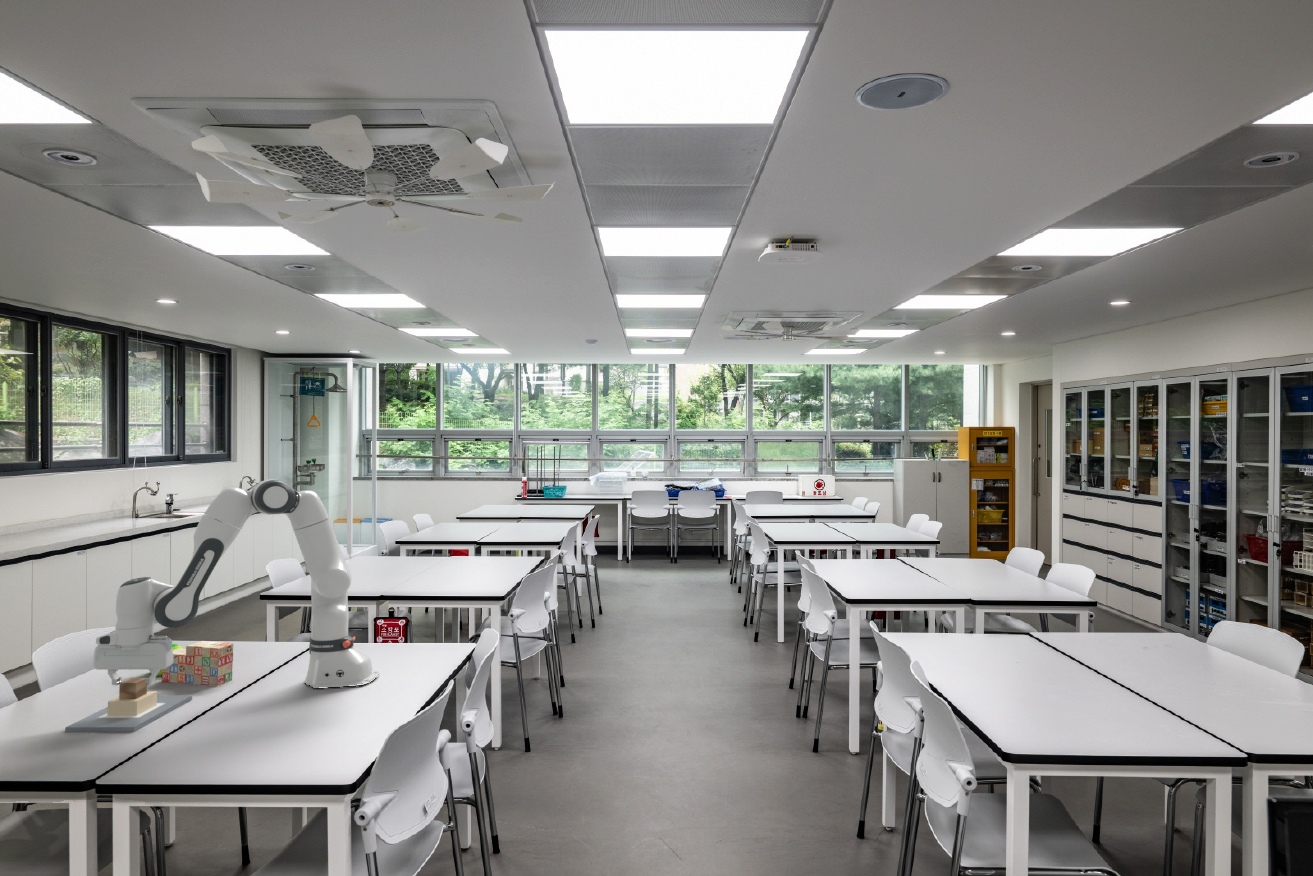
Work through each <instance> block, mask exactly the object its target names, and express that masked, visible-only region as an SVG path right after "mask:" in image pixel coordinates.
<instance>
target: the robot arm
mask: <svg viewBox="0 0 1313 876" xmlns="http://www.w3.org/2000/svg"><path fill="white" fill-rule="evenodd" d="M256 513H261V514H264V515H280V514H282V515H283V514H285V516H287V518H288V520H289V521H290V524H291V526H292V530H293V533H294V536H295V539H296V541H297V544H298V546H299V549H300V552H301V554H302V557H303V560H304V563H305V566H306V568H307V570H308V573H309V576H310V581H311V583H310V584H311V585H310V590H311V591H310V592H311V593H310V595H311V597H310V598H311V599H310V600H311V601H310V603H311V627H310V628H311V637H310V638H309V646H308V647H309V655H310V656H309V662H308V670H307V672H306V677H305V679H304V684H305V683H306V685H307V686H309V685H310V686H309V687H311V688H312V687H313V688H319V687H340V688H344V687H343V686H349V685H357V684H363V683H366V682H370V681H371V680H373V679H374V678H376V677H377V675H378V673H379V674H380V672H379V670H377V669H373V667H372V666H373V663H372V660H371V658H370V656H369V655H368V654H366V653H364V652H363V651H361V650H360V649H358V648H357V647H356V646H355V645H354V642H355V640H356V636H353V637H352V636H351V635H350V634H349V605H348V604H349V601H348V600H349V599H348V597H349V596H348V590H349V588H350V586H351V584H352V574H351V573H350V570H349V568H348V564H347V562H346V559H345V557H344V554H343V551H342V549H341V546H340V544H339V542H338V538H337V535H336V533H335V530H334V528H333V525H332V522H331V519H330V517H329V514H328V511H327V509H326V507H325V505H324V503H323V502H322V499H321V498H320V496H319V495H318V493H317V492H315V491H313V490H306V489H305V490H300V491H297V490H295V489H294V488H293V487H292V486H290V485H289V484H288V483H287V482H284V481H282V480H279V479H274V478H273V479H271V478H270V479H265V480H261V481H260V482H258V483H256V484H254V485H253V486H251V487H249V488H247V489H246V490H245V489H243V488H240V487H233V486H232V487H227V488H224V489H223V490H222V491H220V493H219V494H218V495H217V496H216V497H215V498H214V500H212V502H211V503H210V505H209V506H208V507H207V509H206V510H205V512H204V514H203V515H202V516H201V518H200V519H199V522H198V524H197V525H196V529H195V531H194V534H193V552H192V556H191V559H190V561H189V563H188V565H187V566H186V568H185V570H184V572H183V573H182V575H181V577H180V579H179V581H178V582H177V584H176V585H174V584H168V583H166V582H165V583H164V582H161V581H158V580H156V579H153V578H152V577H150V576H143V577H138V578H132V579H130V580H127V581H125V582H123V583H122V584H121V585H120V586H119V588H118V589H117V595H116V600H115V601H116V603H115V613H116V618H117V619H116V620H117V621H116V623H115V630H113V631H110V632H108V633H106V634H103V635H100V636H97V637H96V638H95V644H96V646H95V649H94V654H93V660H92V661H93V664H92V665H93V667H94V668H95V669H96V670H99V671H100V670H103V671H104V670H105V671H106V670H107V675H108V676H109V678H110V679H111V685H112V686H118V685H119V686H120V683H121V682H123V681H122V679H123V677H122V676H119V674H118V673H117V672H118V671H119V670H149V669H150V671H149V674H150V676H149V677H146V678H147V679H146V685H147V686H152V685H155V683H156V677H158V676H157V674H158V673H159V671H160V669H166V668H168V667H170V666H171V665H172V664H173V650H172V644H173V639H171V638H170V637H168V635H155V634H154V633H155V632H154V631H155V621H156V622H157V623H158V624H159V625H161V626H162V627H165V628H169V629H175V628H180V627H184V626H185V625H188V624H189V623H191V621H193V619H195V618H196V616H197V614H198V610H199V601H200V596H201V593H202V591H203V589H204V587H205V585H206V584H207V581H208V580H209V578H210V576H211V574H212V572H213V571H214V569H215V568H216V566H217V564H218V562H219V561H220V559H221V558H222V557H223V555H224V554H225V553H226V551H227V550H228V549H229V548H230V546H231V545H232V543H234V541H235V540H236V538H237V537H238V535H239V534H240V532H241V530H243V527H244V525H245V523H246V522H247V520H248V519H249V518H250V517H251V516H252V515H254V514H256ZM313 688H312V689H313Z"/></svg>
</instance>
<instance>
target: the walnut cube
mask: <svg viewBox="0 0 1313 876" xmlns="http://www.w3.org/2000/svg"><path fill="white" fill-rule="evenodd" d="M147 678H148V677H130V678H128V679H126V680H123V681H122V682H121V683H120V684H119V687H118V688H119V691H118V695H119V699H137V698H139V697H141V696H143V695H145V694H147V691H148V685H146V679H147Z"/></svg>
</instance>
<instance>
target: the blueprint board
mask: <svg viewBox="0 0 1313 876" xmlns="http://www.w3.org/2000/svg"><path fill="white" fill-rule="evenodd" d="M189 700H190V701H192V700H193V695H158V691H156V690H155V691H150V690H149V691H148V690H147V694H145V695H143V696H141V697H139V698H137V699H119V696H117V697H114V698H112V699H110V700H108V701H107V707H105V708H103V709H100V710H98V711H97V712H94V713H92V714H90V715H89V716H86V717H84V718H82V719H80V720H78V721H76V722H73V723H71V724H70V725H67V726H65V728H64V729H65V730H64V732H65V733H84V732H83V731H86V732H85V733H99V732H100V733H109V732H111V733H114V732H117V733H119V732H120V733H123V732H124V733H126V732H128V733H131V732H136V731H138V730H140V729H142V728H143V727H145V726H147V725H149V724H150V723H152V722H154V721H156V720H158V719H159V718H161V717H163V716H165V715H167V714H168V713H171V712H172V711H174V710H176V709H178V708H179V707H181V706H183V705H185V704H187V703H189V702H190V701H189ZM74 731H75V732H74ZM79 731H80V732H79ZM87 731H88V732H87Z"/></svg>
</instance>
